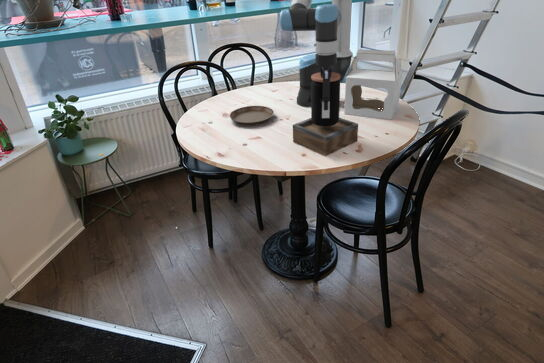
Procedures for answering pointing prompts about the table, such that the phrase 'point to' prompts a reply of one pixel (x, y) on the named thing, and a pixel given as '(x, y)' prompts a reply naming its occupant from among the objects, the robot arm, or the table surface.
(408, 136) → the table surface
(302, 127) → the square wooden box
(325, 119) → the coffee jar
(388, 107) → the gable box
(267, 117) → the plant saucer
